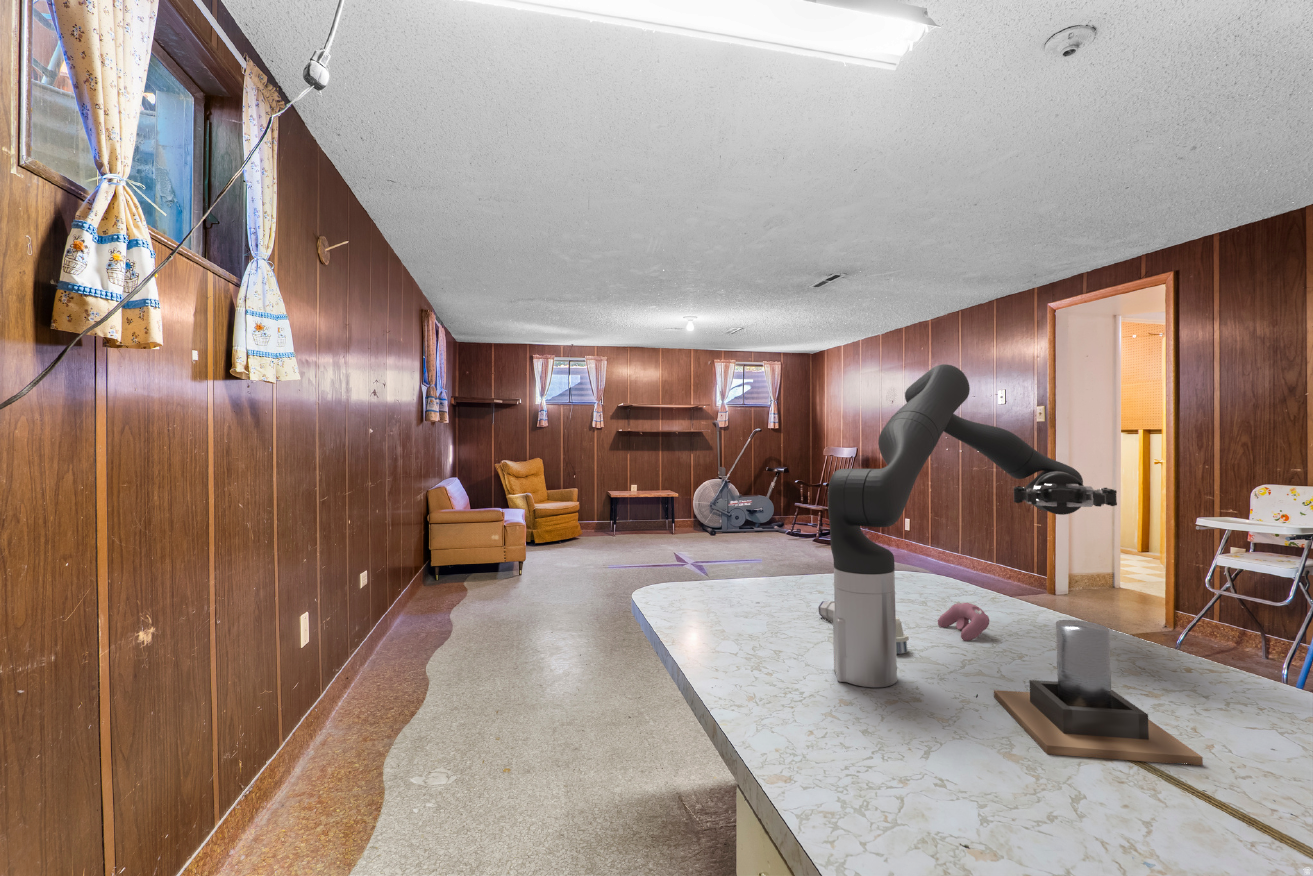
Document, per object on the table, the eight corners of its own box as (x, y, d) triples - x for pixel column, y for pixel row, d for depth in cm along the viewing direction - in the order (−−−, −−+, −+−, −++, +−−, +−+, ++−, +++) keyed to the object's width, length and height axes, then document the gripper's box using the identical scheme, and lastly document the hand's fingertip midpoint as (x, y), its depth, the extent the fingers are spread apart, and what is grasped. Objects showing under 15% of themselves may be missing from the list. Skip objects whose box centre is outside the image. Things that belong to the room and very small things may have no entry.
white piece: (836, 598, 127) (912, 613, 103) (838, 630, 125) (916, 652, 102) (814, 600, 125) (886, 615, 101) (817, 632, 124) (890, 655, 100)
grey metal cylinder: (1072, 727, 73) (1069, 631, 73) (1050, 708, 78) (1047, 619, 78) (1122, 731, 72) (1119, 633, 72) (1096, 711, 77) (1094, 620, 77)
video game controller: (982, 649, 108) (998, 616, 108) (961, 639, 108) (976, 605, 108) (953, 633, 118) (968, 602, 118) (934, 623, 118) (948, 592, 118)
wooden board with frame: (1046, 753, 68) (1045, 719, 68) (993, 697, 84) (993, 669, 84) (1202, 765, 65) (1201, 730, 65) (1117, 704, 81) (1116, 675, 81)
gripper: (1012, 471, 111) (1013, 475, 97) (1106, 472, 103) (1121, 476, 89) (1013, 510, 110) (1014, 519, 97) (1107, 514, 103) (1122, 524, 89)
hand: (1065, 498), depth 93 cm, fingers open, 8 cm apart
